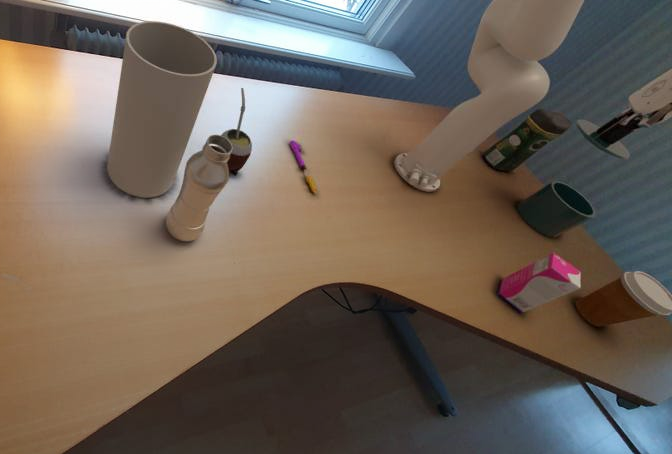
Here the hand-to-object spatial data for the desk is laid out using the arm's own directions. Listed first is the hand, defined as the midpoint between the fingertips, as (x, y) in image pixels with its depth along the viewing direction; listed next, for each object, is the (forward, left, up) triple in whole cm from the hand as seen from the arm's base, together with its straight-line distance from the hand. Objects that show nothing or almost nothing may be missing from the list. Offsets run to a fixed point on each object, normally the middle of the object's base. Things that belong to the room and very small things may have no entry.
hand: (604, 137), depth 85 cm
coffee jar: (+16, +5, -23) cm, 28 cm away
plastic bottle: (-76, +62, -23) cm, 101 cm away
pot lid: (0, 0, -1) cm, 1 cm away
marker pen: (-42, +51, -23) cm, 70 cm away
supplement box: (-39, 0, -23) cm, 45 cm away
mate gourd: (-57, +65, -23) cm, 89 cm away
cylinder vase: (-72, +75, -23) cm, 106 cm away
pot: (-1, -8, -23) cm, 24 cm away
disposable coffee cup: (-27, -19, -23) cm, 41 cm away
